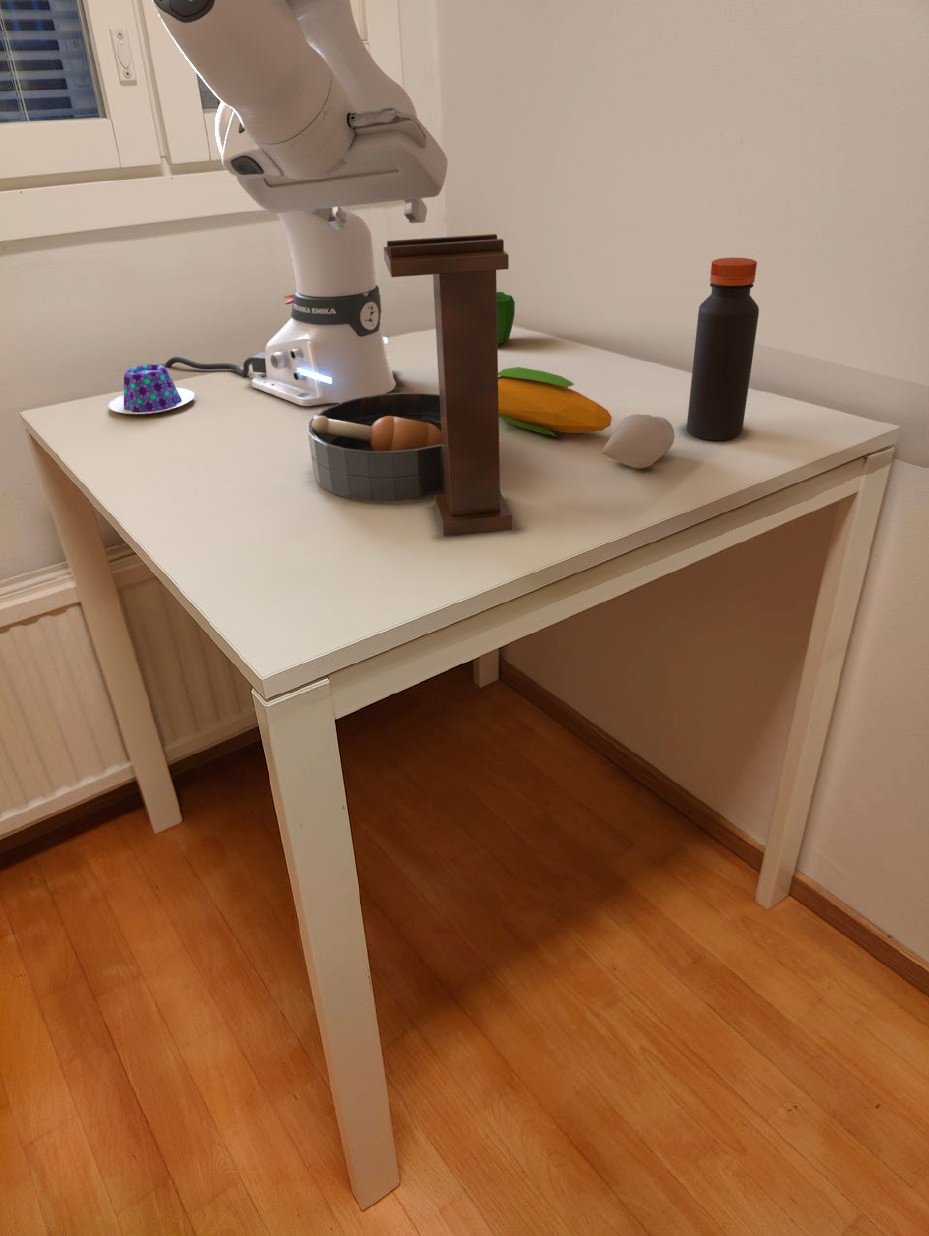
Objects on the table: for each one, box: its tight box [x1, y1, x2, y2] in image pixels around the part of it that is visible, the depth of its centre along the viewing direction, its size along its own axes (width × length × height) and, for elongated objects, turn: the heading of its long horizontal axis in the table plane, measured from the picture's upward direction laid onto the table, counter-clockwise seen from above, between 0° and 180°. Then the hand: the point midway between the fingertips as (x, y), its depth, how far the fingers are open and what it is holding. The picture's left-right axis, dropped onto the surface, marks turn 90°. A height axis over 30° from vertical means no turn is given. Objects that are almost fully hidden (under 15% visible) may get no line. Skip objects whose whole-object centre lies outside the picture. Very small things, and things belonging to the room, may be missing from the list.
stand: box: [383, 233, 513, 537], centre depth 82 cm, size 10×8×27 cm
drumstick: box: [312, 416, 442, 451], centre depth 99 cm, size 15×5×5 cm, turn 98°
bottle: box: [686, 257, 760, 441], centre depth 103 cm, size 7×7×20 cm
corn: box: [498, 366, 613, 437], centre depth 109 cm, size 7×8×20 cm
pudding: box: [108, 363, 195, 415], centre depth 124 cm, size 12×12×5 cm
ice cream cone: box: [600, 413, 675, 470], centre depth 97 cm, size 6×6×15 cm
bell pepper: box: [497, 291, 516, 346], centre depth 145 cm, size 8×8×10 cm
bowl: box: [307, 392, 445, 502], centre depth 100 cm, size 20×20×6 cm
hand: (378, 220), depth 88 cm, fingers open, 8 cm apart
